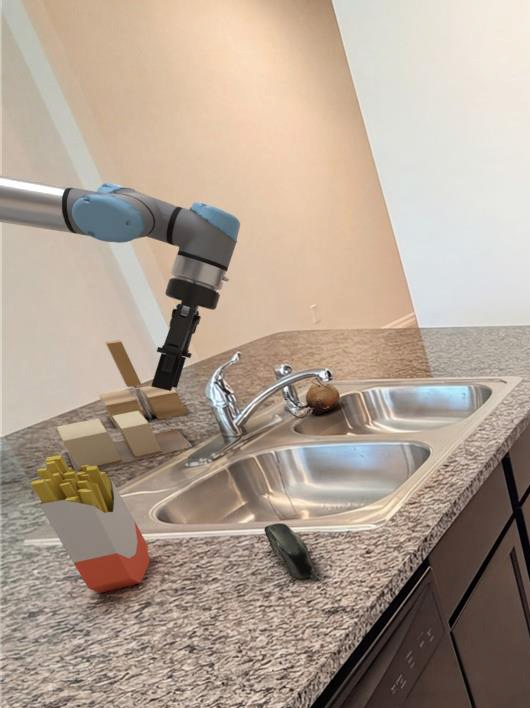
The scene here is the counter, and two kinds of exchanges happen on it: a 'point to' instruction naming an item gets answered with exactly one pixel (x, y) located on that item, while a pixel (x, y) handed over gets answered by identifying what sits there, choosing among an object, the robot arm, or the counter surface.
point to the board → (167, 444)
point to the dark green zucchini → (291, 551)
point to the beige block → (88, 443)
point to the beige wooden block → (137, 433)
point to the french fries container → (92, 525)
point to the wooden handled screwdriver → (127, 371)
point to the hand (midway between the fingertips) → (164, 387)
